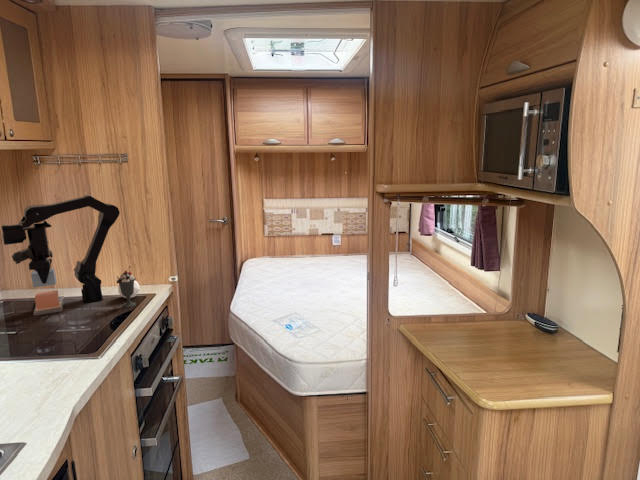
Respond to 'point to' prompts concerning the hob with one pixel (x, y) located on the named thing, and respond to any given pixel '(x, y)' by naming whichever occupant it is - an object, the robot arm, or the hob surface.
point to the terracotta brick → (47, 299)
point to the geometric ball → (136, 290)
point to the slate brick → (38, 283)
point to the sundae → (127, 287)
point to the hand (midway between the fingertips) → (44, 281)
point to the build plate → (50, 310)
